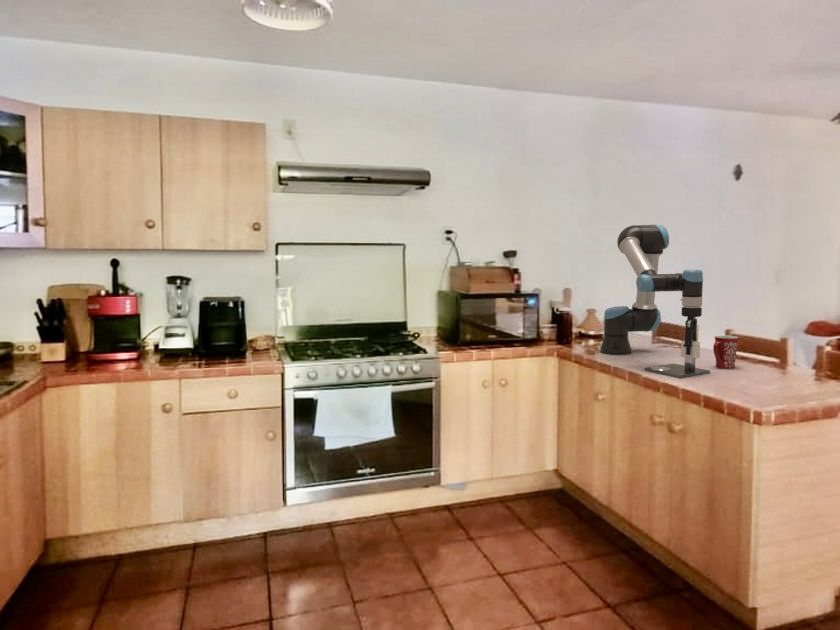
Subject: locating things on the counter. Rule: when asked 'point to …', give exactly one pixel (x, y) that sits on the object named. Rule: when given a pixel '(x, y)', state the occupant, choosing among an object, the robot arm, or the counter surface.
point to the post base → (678, 370)
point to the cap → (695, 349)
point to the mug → (725, 351)
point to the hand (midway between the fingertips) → (690, 360)
